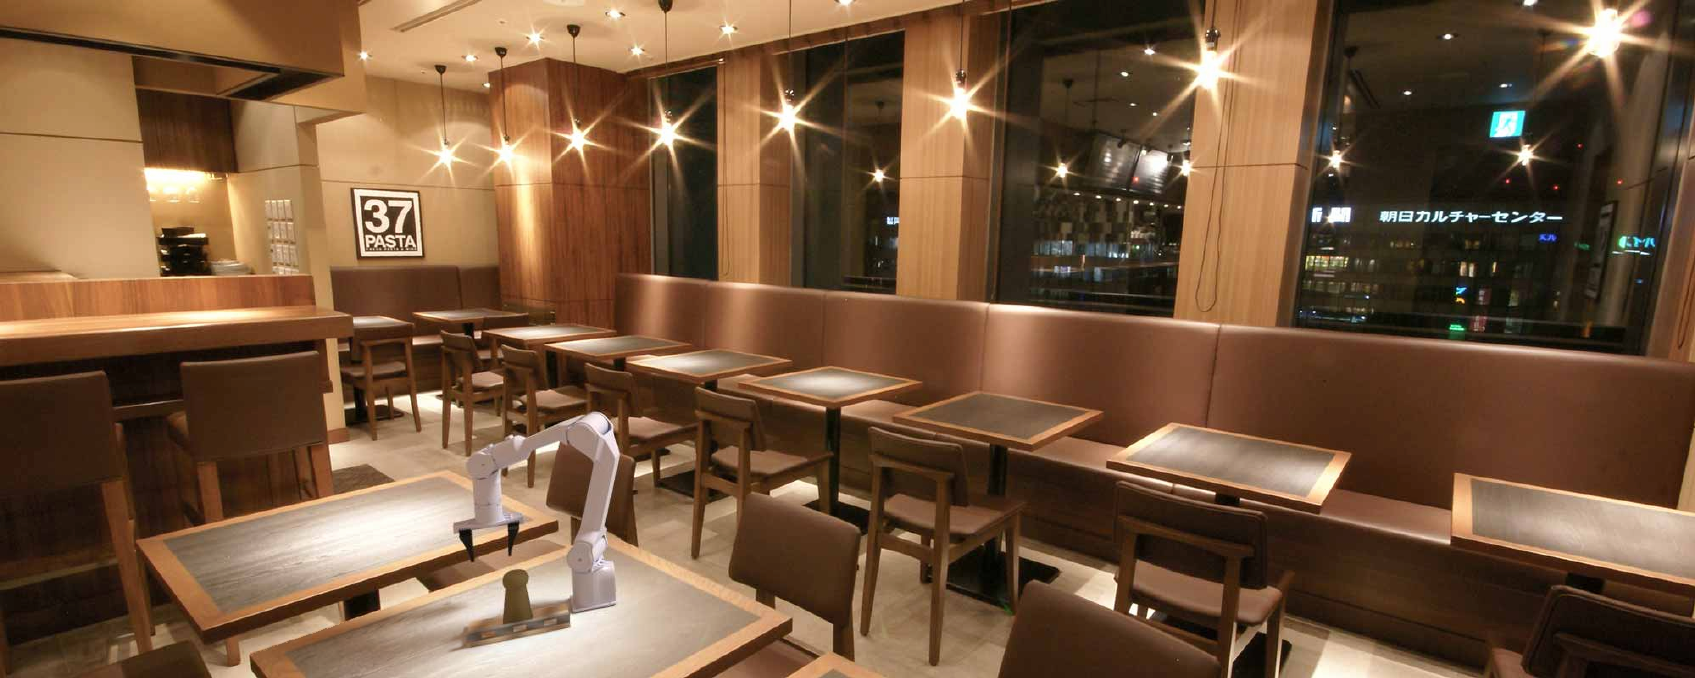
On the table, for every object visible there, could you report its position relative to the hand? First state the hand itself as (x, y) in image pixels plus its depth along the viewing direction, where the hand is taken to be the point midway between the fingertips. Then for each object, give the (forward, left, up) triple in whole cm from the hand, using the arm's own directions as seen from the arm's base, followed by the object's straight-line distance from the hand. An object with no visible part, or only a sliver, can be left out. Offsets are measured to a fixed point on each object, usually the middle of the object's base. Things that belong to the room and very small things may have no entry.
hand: (491, 557), depth 171 cm
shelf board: (-5, +15, -10) cm, 19 cm away
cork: (-5, +14, -10) cm, 17 cm away
